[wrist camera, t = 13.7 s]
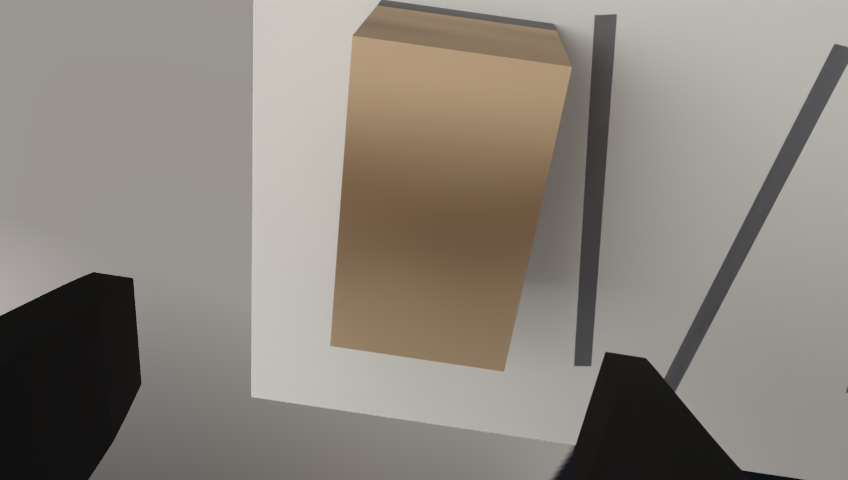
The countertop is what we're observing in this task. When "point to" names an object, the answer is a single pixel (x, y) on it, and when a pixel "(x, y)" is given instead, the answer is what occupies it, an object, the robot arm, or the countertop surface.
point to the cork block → (443, 180)
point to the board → (599, 226)
